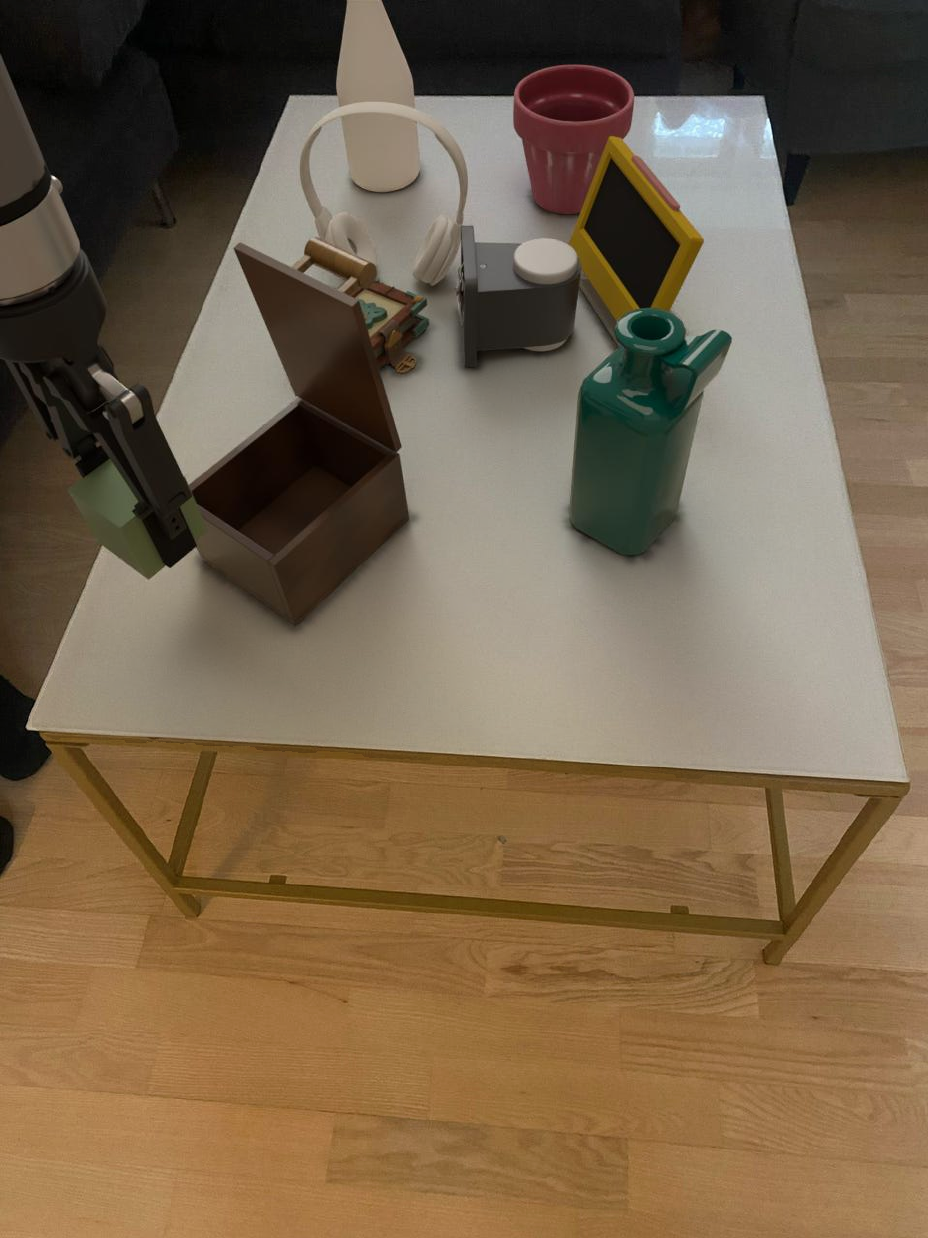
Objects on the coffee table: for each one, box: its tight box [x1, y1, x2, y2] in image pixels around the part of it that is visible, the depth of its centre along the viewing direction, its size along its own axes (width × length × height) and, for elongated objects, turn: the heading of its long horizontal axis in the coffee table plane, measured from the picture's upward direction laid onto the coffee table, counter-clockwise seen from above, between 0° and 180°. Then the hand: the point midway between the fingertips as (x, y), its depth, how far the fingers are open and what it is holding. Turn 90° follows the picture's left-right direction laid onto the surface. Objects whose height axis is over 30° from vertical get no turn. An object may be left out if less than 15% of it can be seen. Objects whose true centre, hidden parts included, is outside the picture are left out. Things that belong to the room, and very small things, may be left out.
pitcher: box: [568, 307, 733, 556], centre depth 76 cm, size 10×8×22 cm
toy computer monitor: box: [567, 136, 705, 348], centre depth 96 cm, size 20×8×16 cm, turn 18°
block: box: [67, 459, 208, 581], centre depth 67 cm, size 6×6×6 cm
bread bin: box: [188, 397, 410, 626], centre depth 82 cm, size 16×13×9 cm
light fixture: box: [454, 225, 582, 367], centre depth 97 cm, size 11×13×11 cm
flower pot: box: [512, 64, 635, 215], centre depth 111 cm, size 14×14×13 cm
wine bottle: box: [335, 0, 421, 193], centre depth 109 cm, size 10×10×30 cm
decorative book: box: [350, 277, 430, 374], centre depth 98 cm, size 13×18×5 cm
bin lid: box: [232, 236, 403, 453], centre depth 75 cm, size 16×13×6 cm
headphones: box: [299, 102, 469, 287], centre depth 100 cm, size 7×18×20 cm, turn 82°
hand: (151, 534), depth 69 cm, fingers closed on block, 6 cm apart
